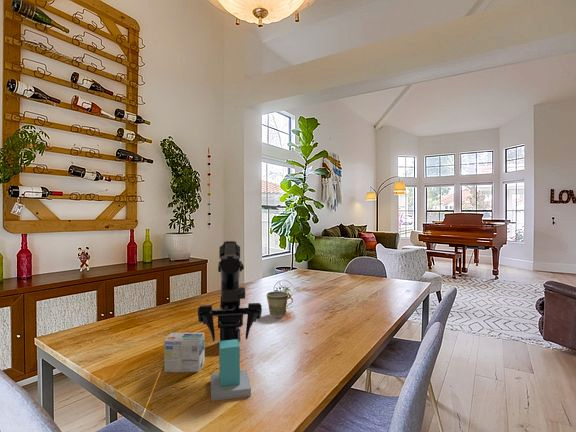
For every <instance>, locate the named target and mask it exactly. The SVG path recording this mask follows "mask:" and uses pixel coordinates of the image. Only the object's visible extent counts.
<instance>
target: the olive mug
mask: <svg viewBox="0 0 576 432" xmlns="http://www.w3.org/2000/svg"><path fill="white" fill-rule="evenodd" d="M266 298H267V299H266V301H267V304H268V310H269V315H270V316H271V317H272V318H277V319H278V318H283V317H285V314H286V309H287V307H289V306H290V305H291V304H292V303H294V300H293V298H292V297H291V296H289V293H288V292H286V291H279V290H274V291H268V292H267V293H266ZM289 299H291V302H290V303H288V300H289ZM287 303H288V304H287Z"/></svg>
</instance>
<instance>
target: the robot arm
mask: <svg viewBox="0 0 576 432" xmlns="http://www.w3.org/2000/svg"><path fill="white" fill-rule="evenodd" d="M218 248H219V250H218V251H219V255H218V256H219V260H220V261H218V264H217V265H218V266H217V267H218V269H217V271H218V273H220V280H221V281H220V283H221V284H220V304H219V308H217V309H216V308H213V305H212V304H204V305H201V304H200V305H199V306H198V307H197V317H198V318H197V319H198V322H199V323H202V324H203V325H206V326H207V328H208V330H209V332H210V336H211V338H212V342H216V339H215V338H216V333H215V326H214V325H215V324H214V317H217V329H219V341H225V340H235V339H238V342H240V341H241V329H240V328H242V326H243V325H244V316H245V315H247V318H246V325H245V326H246V328H245V329H246V330H245V340H248V338H249V334H250V331H251V328H252V326H253V323H254V322H257V320H260V319H261V316H262V312H263V311H262V310H263V307H262V304H261V303H260V302H248V305H247V307H241V300H244V299H246V287H241V286H240V273H241V272H243V270H245V268H244V267H245V266H244V263H243V262H242V260H241V246H240V245H238V244H237V241H235V240H230V241H229V240H224V241H223V244H222V245H220V246H219V247H218ZM217 345H218V346H219V342H218V343H217Z"/></svg>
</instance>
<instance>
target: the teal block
mask: <svg viewBox="0 0 576 432" xmlns="http://www.w3.org/2000/svg"><path fill="white" fill-rule="evenodd" d="M239 342H240V341H239ZM239 342H238V339H235V340H225V341H220V340H219V341H218V343H219V345H218V350H219V352H218V353H219V355H218V358H219V360H218V361H219V362H218V363H219V364H218V365H219V369H218V370H219V372H218V373H219V378H220V387H223V386H230V385H237V384H240V370H241V367H240V366H241V364H240V363H241V359H240V357H241V354H240V353H241V350H240V349H241V347H240V343H239Z"/></svg>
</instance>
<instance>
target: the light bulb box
mask: <svg viewBox="0 0 576 432" xmlns="http://www.w3.org/2000/svg"><path fill="white" fill-rule="evenodd" d="M163 361H164V363H163V367H164V368H163V371H164V372H165V373H200V372H201V370H202V368H203V366H204V365H205V332H204V331H203V332H200V331H199V332H170V333H169V334H168V335H167V337H166V338H165V339H164V341H163Z"/></svg>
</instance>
